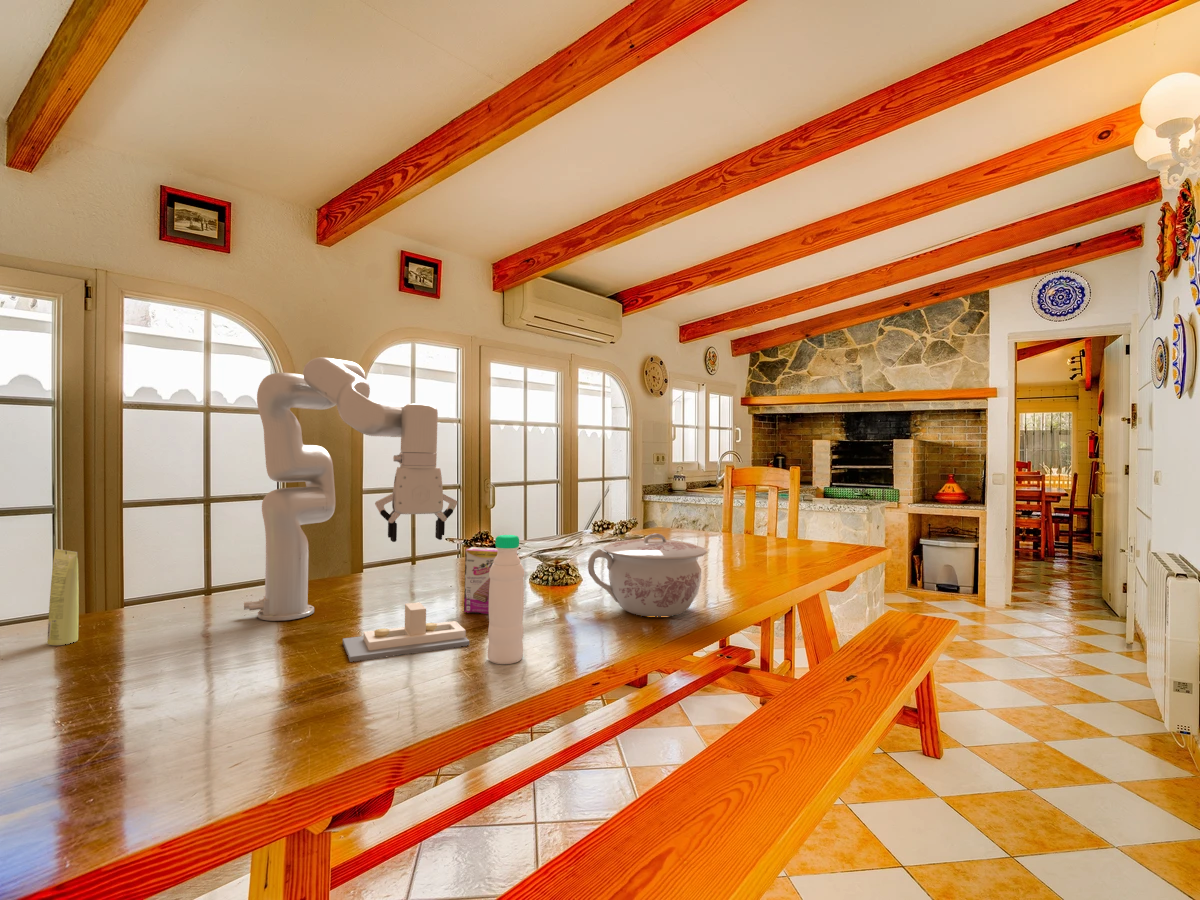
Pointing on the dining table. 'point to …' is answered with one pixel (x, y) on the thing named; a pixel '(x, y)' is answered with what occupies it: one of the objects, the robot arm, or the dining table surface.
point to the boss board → (360, 651)
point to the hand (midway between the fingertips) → (416, 539)
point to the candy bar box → (478, 579)
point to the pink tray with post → (414, 631)
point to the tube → (64, 599)
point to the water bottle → (506, 603)
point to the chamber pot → (651, 574)
